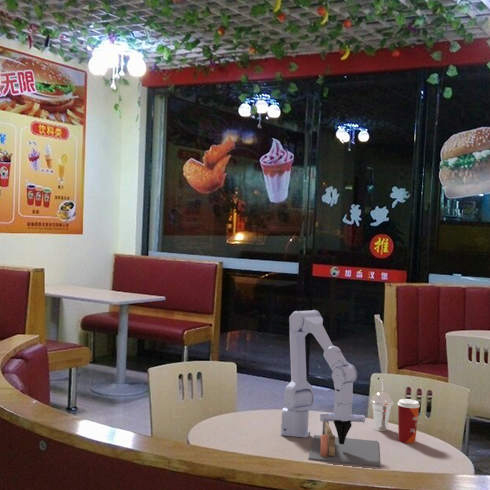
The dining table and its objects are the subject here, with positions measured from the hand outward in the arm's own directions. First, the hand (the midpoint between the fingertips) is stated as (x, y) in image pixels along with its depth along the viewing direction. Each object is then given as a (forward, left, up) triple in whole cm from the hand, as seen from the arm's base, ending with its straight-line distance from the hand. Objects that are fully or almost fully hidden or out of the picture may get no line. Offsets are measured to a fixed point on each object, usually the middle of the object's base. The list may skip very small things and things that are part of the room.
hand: (341, 443), depth 219 cm
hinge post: (-6, +10, -3) cm, 12 cm away
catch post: (-5, -7, -3) cm, 9 cm away
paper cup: (+22, +19, -3) cm, 29 cm away
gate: (-4, 0, -2) cm, 5 cm away
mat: (+1, +2, -3) cm, 4 cm away
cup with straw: (+13, +30, -3) cm, 33 cm away
